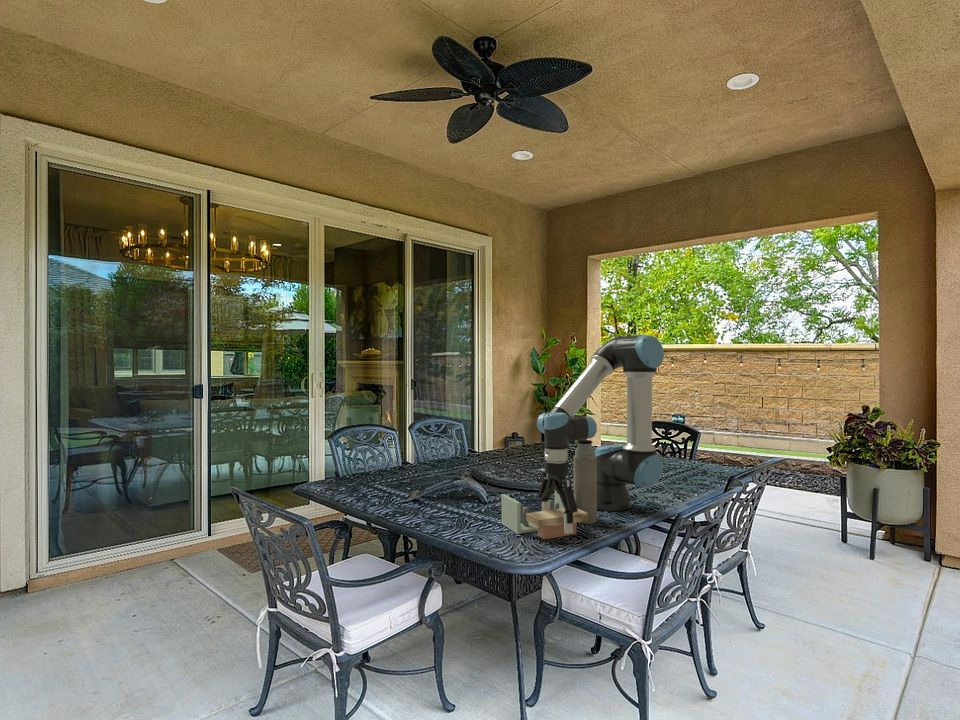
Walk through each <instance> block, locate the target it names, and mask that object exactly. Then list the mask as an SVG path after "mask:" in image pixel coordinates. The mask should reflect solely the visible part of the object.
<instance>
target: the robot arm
mask: <svg viewBox="0 0 960 720" xmlns="http://www.w3.org/2000/svg"><path fill="white" fill-rule="evenodd" d="M664 356H665V351H664V348H663V345H662V343H661V342H660V341H659V339H658V338H657V337H656V336H653V335H650V334H637V335H636V334H635V335H620V336H619V335H618V336H615V337H613V338H611V339H608V341H606V342H605V343H604V344H602V345H601V346H600V347H599V348H598V349H597V350H595V352H594V353H593V355H591V357H590V361H589V362H590V363H589V364H588V365H587V366H586V368H584V370H583V371H582V372H581V374H579V376H578V377H577V378H576V379H575V381H573V383H572V385H571V386H570V387H568V389H567V391H566V392H565V393H564V394H563V395H562V396H561V398H560V399H559V400H558V402H557V403H556V404H555V405H554V407H553V408H552V409H551V410H550V411H549V412H543V413H541V414H540V415H538V418H537V421H536V426H537V430H538V431H539V432H540V433H542V434H544V436H543V438H544V453H543V454H544V460H545V461H544V472H542V479H541V483H540V486H539V490H538V493H537V497H538V498H539V499H540V501H541V511H546V510H550V501H548V500H551V497H552V494H553V492H555V491H556V492H557V493H558V494H559V496H560V498H561V501H562V504H563V506H564V509H565V512H564V534H569V533H573V513H574V512H577V511H578V510H577V506H576V502H575V498H574V489H573V486H572V479H566V475H568V473H569V461H568V460H569V442H571V441H574V442H575V441H578V440H589V439H592V438H594V437H595V436H596V434H597V432H598V431H597V430H598V427H597V426H598V425H597V422H596V420H595V419H594V418H593V417H591V416H588V415H587V416H584V415H581V416H575V415H576V414H577V413H578V412H579V410H580V409H581V408H582V407H583V405H584V404H585V403H586V402H587V400H588V399H589V398H590V397H591V395H592V394H593V393H594V391H596V389H597V388H598V386H600V384H601V383H602V381H603V380H604V379H605V378H606V377H607V376H611V375H612V373H613V372H614V371H615V370H617V369H619V368H622V373H623V374H624V375H625V376H626V378H627V379H626V381H627V382H626V383H627V385H626V391H627V393H626V394H627V396H626V397H627V398H626V400H627V401H626V406H627V407H626V408H627V410H626V437H627V438H626V443H625V444H608V445H607V444H606V445H601V446H597V447H596V448H595V449H594V452H595V453H594V455H595V456H596V457H597V510H601V511H609V512H610V511H611V512H620V511H621V512H622V511H623V512H624V511H628V510H630V509H631V508H632V500H631V497H630V493H629V491H628V487H627V484H629V485H634V486H637V487H639V488H641V487H643V488H652V487H653V486H655V485H656V484H657V483H658V482H659V480H661V478H662V476H663V472H664V463H663V461H662V459H661V457H659V456H658V455H657V448H656V447H655V446H654V445H653V444H652V443H653V440H652V439H653V438H652V437H653V435H652V433H653V427H652V426H653V421H652V420H653V377H654V376H655V375H656V374H657V369H658V368H659V367H660V366H661V365H662V364H663V363H662V362H663V361H664V358H665V357H664ZM573 507H574V508H573Z"/></svg>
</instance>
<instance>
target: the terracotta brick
mask: <svg viewBox="0 0 960 720" xmlns="http://www.w3.org/2000/svg"><path fill="white" fill-rule="evenodd" d="M572 535H577V522H576V523H573V533H569V534H564V524H563V525H556V526H550V527H544V528H538V531H537V536H538V537H539V538H540V539H543V540H548V539H556V538H561V537H566V536H567V537H568V536H572Z"/></svg>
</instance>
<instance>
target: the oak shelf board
mask: <svg viewBox="0 0 960 720" xmlns="http://www.w3.org/2000/svg"><path fill="white" fill-rule="evenodd" d="M573 508H574V507H573ZM577 510H578V511H577V512H574V513H573V523H576V524H577V523H578V522H582V521H588V516H587V512H584V511H582V510H580V509H578V508H577ZM564 512H565V509H564V508H561V509H554V508H553V510H546V511H542V510H541V511H533V512H528V513H526V521H527V522H529V523H530V524H532V525H534V526H536V527H537V528H544V527H550V526H556V525H563V524H564Z"/></svg>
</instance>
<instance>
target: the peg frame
mask: <svg viewBox="0 0 960 720" xmlns="http://www.w3.org/2000/svg"><path fill="white" fill-rule="evenodd" d="M500 496H501V498H500V499H501V500H500V501H501V509H500V510H501V524H502V525H503V526H504V527H506V528H507V529H509V530H511V531H512V532H513V533H515V534H517V535H520V534H527V533H532V532H538V528H537V527H536V526H534V525H532V524H530V523H529V522H527V521H526V513H529V507H528V506H524V504H523V503H521V502H520V501H518V500H516V499H514V498H512V497H510V496H509V495H507V494H505V493H504V494H501V495H500ZM574 498H575V502H576V495H574ZM547 501H550V510H554V509H561V508H564V506H563V504H562V501H561V498H560V496H559V494H558V493H557V492H556V491H555V490H554V499H550V500H547Z"/></svg>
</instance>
